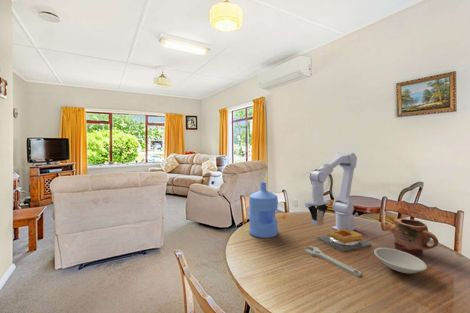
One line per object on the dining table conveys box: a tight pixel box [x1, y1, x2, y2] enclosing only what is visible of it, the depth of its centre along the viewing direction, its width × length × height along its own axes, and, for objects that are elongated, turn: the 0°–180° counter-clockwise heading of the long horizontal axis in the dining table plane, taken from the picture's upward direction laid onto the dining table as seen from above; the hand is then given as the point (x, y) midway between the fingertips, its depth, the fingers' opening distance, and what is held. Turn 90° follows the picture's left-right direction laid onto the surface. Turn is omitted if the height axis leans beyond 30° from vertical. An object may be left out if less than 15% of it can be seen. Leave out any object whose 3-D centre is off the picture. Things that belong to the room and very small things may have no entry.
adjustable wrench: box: [305, 245, 362, 277], centre depth 94 cm, size 25×6×2 cm, turn 25°
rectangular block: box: [311, 210, 324, 226], centre depth 119 cm, size 4×4×7 cm
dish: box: [373, 247, 428, 274], centre depth 87 cm, size 18×14×5 cm
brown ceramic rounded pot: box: [389, 218, 439, 257], centre depth 101 cm, size 20×12×14 cm, turn 20°
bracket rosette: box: [317, 228, 372, 253], centre depth 113 cm, size 18×16×4 cm
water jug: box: [248, 181, 279, 239], centre depth 125 cm, size 16×16×28 cm
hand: (317, 219), depth 119 cm, fingers closed on rectangular block, 4 cm apart
